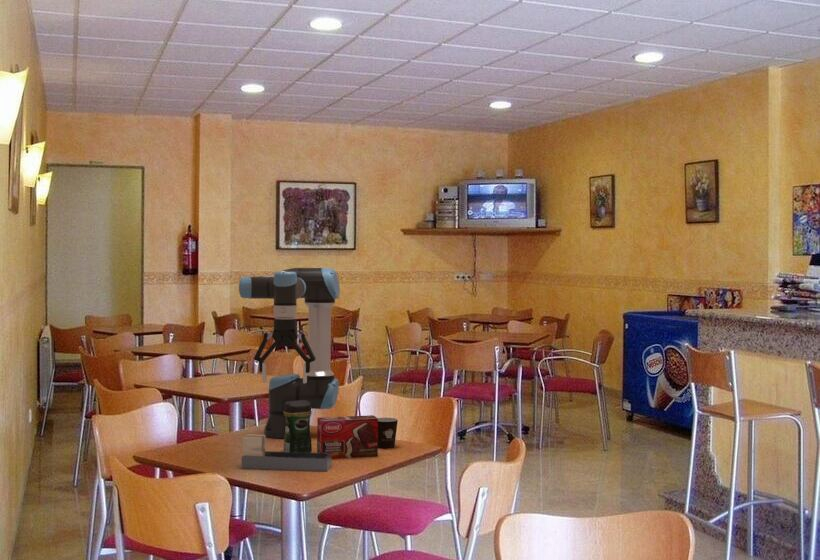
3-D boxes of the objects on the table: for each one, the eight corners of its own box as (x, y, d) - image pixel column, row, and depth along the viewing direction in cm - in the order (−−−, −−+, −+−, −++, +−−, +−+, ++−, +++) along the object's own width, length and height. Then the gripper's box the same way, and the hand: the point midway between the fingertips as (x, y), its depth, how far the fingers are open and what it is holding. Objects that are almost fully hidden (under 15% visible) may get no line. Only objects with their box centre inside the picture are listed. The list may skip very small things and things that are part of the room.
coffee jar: (305, 449, 326) (306, 398, 326) (314, 454, 319) (314, 401, 319) (280, 452, 322) (280, 399, 321) (288, 456, 315) (288, 403, 314)
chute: (248, 462, 305) (248, 450, 305) (331, 465, 303) (331, 453, 302) (241, 468, 296) (241, 456, 296) (327, 471, 294) (327, 458, 294)
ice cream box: (320, 459, 311) (321, 420, 311) (317, 455, 317) (317, 417, 317) (377, 456, 317) (377, 418, 316) (372, 452, 323) (373, 415, 323)
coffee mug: (398, 444, 337) (399, 417, 336) (396, 449, 328) (396, 421, 328) (367, 443, 338) (367, 417, 338) (364, 448, 329) (364, 421, 329)
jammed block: (247, 458, 304) (247, 434, 303) (265, 458, 303) (265, 434, 303) (242, 462, 298) (242, 437, 297) (260, 462, 297) (261, 438, 297)
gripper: (245, 318, 299) (244, 383, 299) (320, 319, 297) (320, 384, 298) (250, 317, 306) (250, 380, 307) (324, 318, 305) (323, 381, 305)
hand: (284, 382), depth 302 cm, fingers open, 13 cm apart
